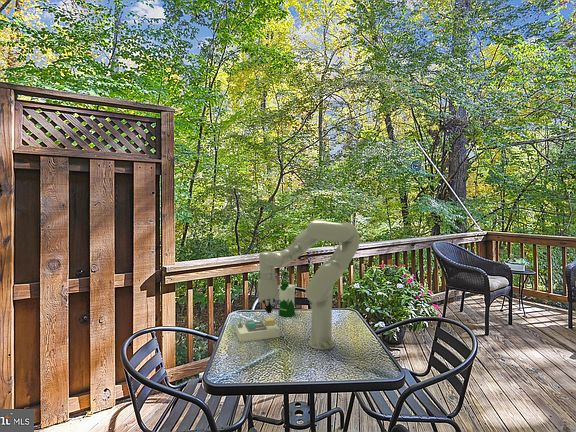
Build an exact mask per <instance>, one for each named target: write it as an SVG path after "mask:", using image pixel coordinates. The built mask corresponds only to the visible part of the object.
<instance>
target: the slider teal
mask: <svg viewBox="0 0 576 432" xmlns="http://www.w3.org/2000/svg"><path fill="white" fill-rule="evenodd" d="M248 328H249V329H255V321H253V322H248Z"/></svg>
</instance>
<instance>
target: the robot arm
mask: <svg viewBox="0 0 576 432" xmlns="http://www.w3.org/2000/svg"><path fill="white" fill-rule="evenodd" d="M320 241H327V242H333V243H339V245H338V246H337V247H336V249H335V250H334V252H333V254H332V255H330V257H329V259H328V260H326V261H325V262H323V263H322V264H320V266H319V267H318V269H317V270H316V271H315V273H314V274H313V276H312V277H311V279H310V280H309V282H308V284H307V286H306V288H305V295H306V296H305V297H306V298H307V300H308V301H309V302H310V303H311V314H310V315H311V319H310V320H311V325H310V326H311V328H310V329H311V332H310V333H311V338H310V339H308V341H307V344H308V346H309V347H310V348H312V349H315V350H319V351H320V350H321V351H326V350H331V349H333V348H334V347H335V346H336V341H334V339H333V338H332V336H333V335H332V334H333V332H332V330H333V329H332V327H333V325H332V324H333V323H332V322H333V321H332V317H333V316H332V315H333V314H332V312H333V308H332V307H333V294H334V293H333V292H334V286H335V284H336V283H337V281H339V280H340V279H341V277H343V274H344V272H345V270H346V269H347V268H348V266H349V265H350V263H351V261H352V260H353V259H354V257H355V255H356V254H357V251H358V249H359V246H360V233H359V232H358V230H357V228H356V226H355V225H353V224H352V223H351V222H348V221H347V222H346V221H345V222H333V221H326V220H325V219H314V220H312V221H311V222H309V223H308V225H307V227H306V228H305V229H304V230H302V231H301V232H300V233H298V234H297V235H296V236H295V239H294V241H293V242H292V243H291V244H290V245H287V247H286V248H284V249H283V250H280V251H279V250H278V251H277V252H276V251H275V252H273V251H261V252H260V253H259V254H258V255H259V257H258V259H259V260H258V261H259V278H258V281H257V302H258V303H263V304H264V305H265V312H266V313H267V314H269V315H270V314H272V312H273V304H274V303H275V302H276V301H279V288H278V286H279V285H278V281H277V280H278V279H277V276H278V273H277V272H276V271H275V269H276V268H282V267H284V266H287V265H289V264H291V263H292V262H294V261H295V260H296V259H298V258H299V257H300V256H301V255H303V254H304V253H306V252H307V251H308V250H309V249H311V248H312V247H313V246H315V245H316V244H317V243H319V242H320Z"/></svg>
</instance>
